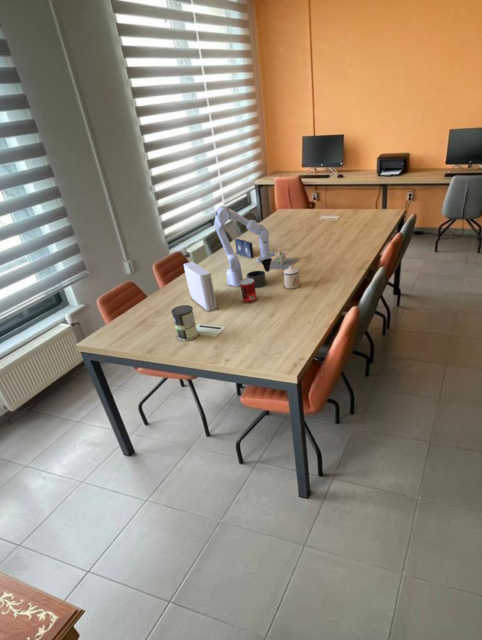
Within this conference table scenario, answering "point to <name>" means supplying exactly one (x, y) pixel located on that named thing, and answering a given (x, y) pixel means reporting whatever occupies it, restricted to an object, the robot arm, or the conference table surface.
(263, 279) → the pot
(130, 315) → the conference table surface
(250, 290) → the canned food
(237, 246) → the vhs cassette tape
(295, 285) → the teacup with lid
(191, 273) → the game console
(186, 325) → the coffee can
